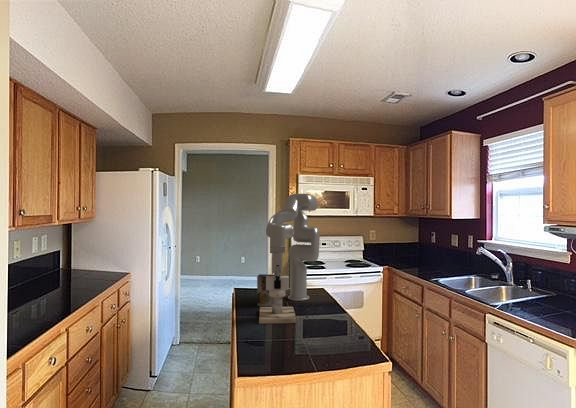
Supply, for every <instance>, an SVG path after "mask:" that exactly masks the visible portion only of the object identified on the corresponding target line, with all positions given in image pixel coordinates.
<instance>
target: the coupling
mask: <svg viewBox="0 0 576 408" xmlns="http://www.w3.org/2000/svg"><path fill="white" fill-rule="evenodd" d="M274 280H275V276H266V290H269V296H270V297H282V298H284V297H286V291H290V282H289V281H290V277H289V275H280V280H281V289H274Z"/></svg>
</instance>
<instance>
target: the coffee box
mask: <svg viewBox="0 0 576 408" xmlns="http://www.w3.org/2000/svg"><path fill="white" fill-rule="evenodd" d="M266 276H274V274H272V273H271V274H266V273H265V274H262V273H261V274H260V273H259V274H258V275H257V277H256V291H257V293H256V296H257V297H256V300H257V302H256V304H257V305H256V306H257V307H272V297H270V296H269V290H266Z"/></svg>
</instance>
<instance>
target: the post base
mask: <svg viewBox="0 0 576 408" xmlns="http://www.w3.org/2000/svg"><path fill="white" fill-rule="evenodd" d="M258 316H259V318H258V324H263V325H264V324H297V317H296V316H297V315H296V311H295V309H294V306H283V297H272V306H259V315H258Z"/></svg>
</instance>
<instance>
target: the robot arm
mask: <svg viewBox="0 0 576 408" xmlns="http://www.w3.org/2000/svg"><path fill="white" fill-rule="evenodd" d="M318 207H319V203H318V199H317V196H314V195H312V194H310V193H292V194H290V195H288V197H287V198H286V201H285V204H284V206H283V209H281V210H279V211H277V212H276V213H275V214H273V215H272V216H271V217H270V218H269V221H268V223H267V225H266V229H265V235H266V236H267V237H268V238H269V254H271V274H272V275H274V276H275V280H274V289H281V280H280V276H281V275H282V274H283V264H284V263H283V262H284V261H283V260H284V259H283V258H284V257H283V256H284V254H286V239H291V238H292V239H293V241H295V242H297V243H298V244H292V245H291V246H290V247H289V249H288V255H289V261H290V286H289V291H290V293H289V295H288V296H287V299H288V300H290V301H294V302H295V301H296V302H298V301H301V302H303V301H307V300H309V299H310V296H309V295H308V294H307V293H308V292H307V287H308V285H307V284H308V283H307V280H308V279H307V277H308V276H307V275H308V274H307V273H308V271H307V266H306V264H305V263H304V262H317V261H318V260H319V257H320V256H319V254H320V239H321V238H320V236H321V235H320V230H319V228H318V227H316V226H309V218H308V216H307V214H306V213H305V211H307V212H308V211H309V212H314V211H316V210H317V208H318ZM291 221H293V225H292V224H290V223H288V222H291ZM299 243H300V244H299ZM301 243H306V244H301ZM307 243H310V244H307Z"/></svg>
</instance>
